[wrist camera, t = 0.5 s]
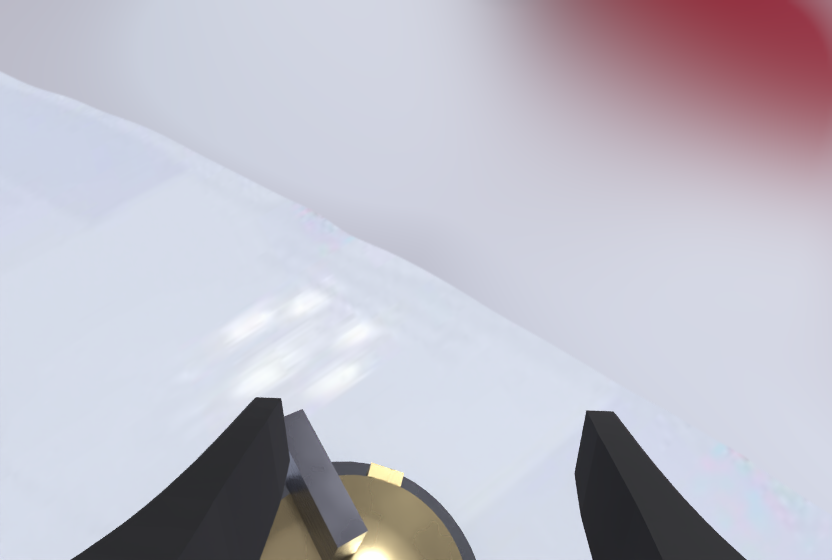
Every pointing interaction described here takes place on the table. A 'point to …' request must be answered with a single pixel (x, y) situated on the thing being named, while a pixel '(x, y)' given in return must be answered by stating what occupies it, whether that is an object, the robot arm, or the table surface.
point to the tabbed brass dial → (349, 511)
